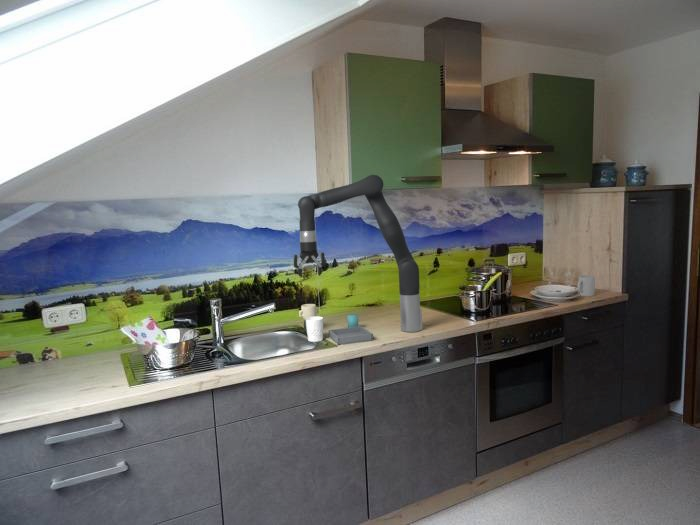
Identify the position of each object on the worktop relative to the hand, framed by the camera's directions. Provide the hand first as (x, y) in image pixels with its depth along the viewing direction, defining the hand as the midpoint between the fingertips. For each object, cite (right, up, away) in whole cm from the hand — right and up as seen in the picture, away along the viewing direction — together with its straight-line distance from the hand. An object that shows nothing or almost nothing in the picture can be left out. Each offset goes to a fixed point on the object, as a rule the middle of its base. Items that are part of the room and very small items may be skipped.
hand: (310, 276), depth 231 cm
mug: (+156, -13, +66) cm, 170 cm away
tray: (+18, -28, -3) cm, 34 cm away
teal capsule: (+20, -26, +13) cm, 35 cm away
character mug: (-1, -27, +13) cm, 30 cm away
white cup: (+3, -29, -2) cm, 29 cm away
